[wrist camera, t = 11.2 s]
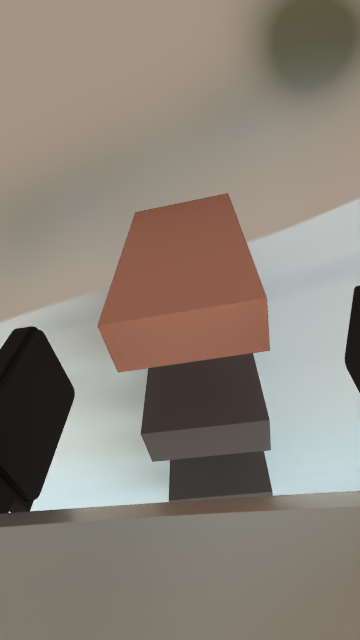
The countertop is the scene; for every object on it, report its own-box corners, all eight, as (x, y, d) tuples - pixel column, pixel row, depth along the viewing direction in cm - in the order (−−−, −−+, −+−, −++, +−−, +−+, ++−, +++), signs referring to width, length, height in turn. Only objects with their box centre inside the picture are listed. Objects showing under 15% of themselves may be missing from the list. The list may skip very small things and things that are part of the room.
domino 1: (228, 193, 17) (266, 297, 9) (232, 229, 19) (269, 350, 11) (135, 212, 18) (97, 326, 10) (145, 246, 19) (117, 372, 11)
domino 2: (235, 284, 21) (269, 420, 13) (238, 310, 22) (270, 449, 14) (156, 296, 21) (140, 434, 13) (163, 321, 22) (152, 461, 14)
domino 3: (242, 350, 24) (272, 491, 16) (244, 370, 25) (273, 511, 17) (173, 359, 25) (168, 500, 16) (178, 378, 26) (176, 518, 18)
